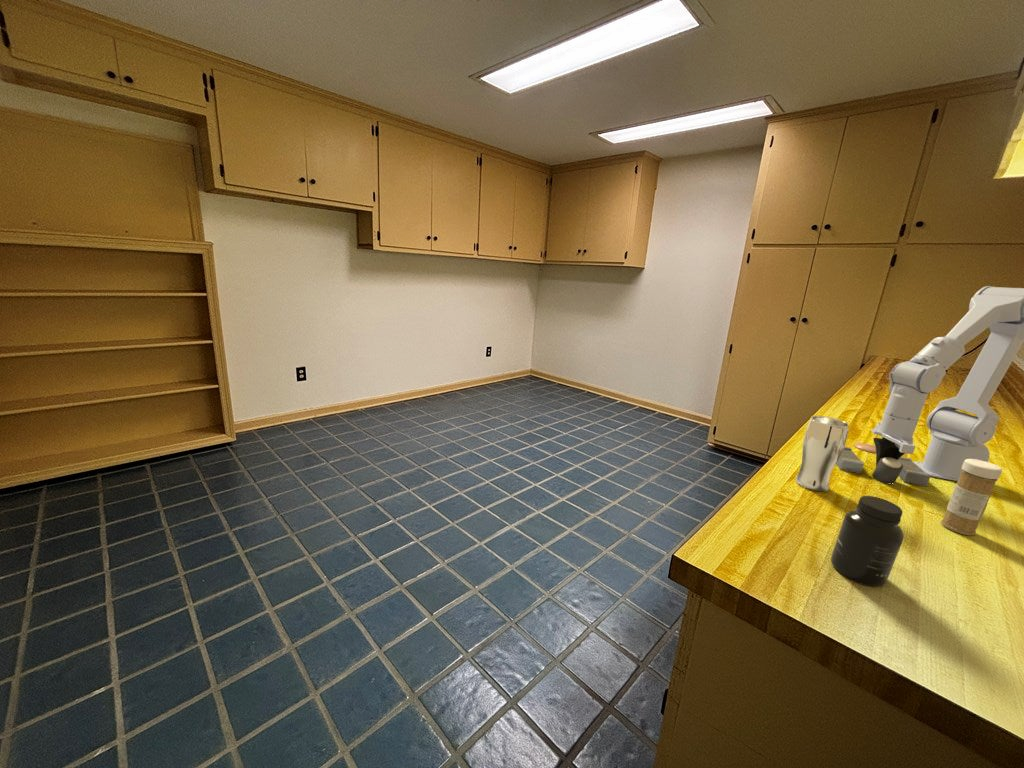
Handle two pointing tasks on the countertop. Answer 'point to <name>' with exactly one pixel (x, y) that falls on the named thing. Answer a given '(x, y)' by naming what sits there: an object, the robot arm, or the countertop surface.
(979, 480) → the sprinkles bottle
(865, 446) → the coaster
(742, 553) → the countertop surface
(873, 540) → the supplement bottle
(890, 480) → the grey short cylinder
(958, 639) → the countertop surface
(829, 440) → the beer glass
